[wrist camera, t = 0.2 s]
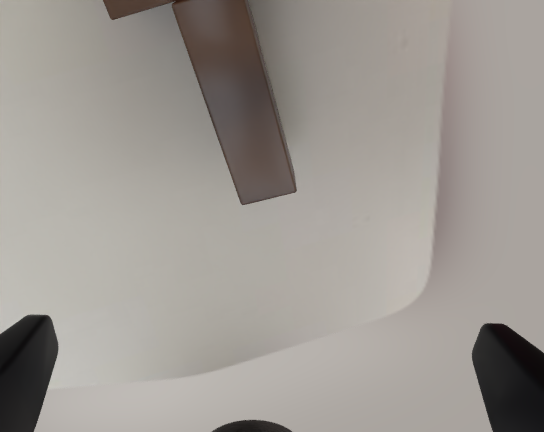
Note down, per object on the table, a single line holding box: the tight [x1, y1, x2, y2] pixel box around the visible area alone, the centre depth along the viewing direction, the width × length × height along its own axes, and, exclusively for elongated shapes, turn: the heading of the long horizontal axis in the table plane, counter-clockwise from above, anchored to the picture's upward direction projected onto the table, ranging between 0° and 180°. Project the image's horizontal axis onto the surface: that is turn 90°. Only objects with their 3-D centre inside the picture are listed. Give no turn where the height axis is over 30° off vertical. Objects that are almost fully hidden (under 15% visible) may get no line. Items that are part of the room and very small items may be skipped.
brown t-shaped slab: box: [103, 0, 297, 205], centre depth 17 cm, size 13×7×4 cm, turn 15°
